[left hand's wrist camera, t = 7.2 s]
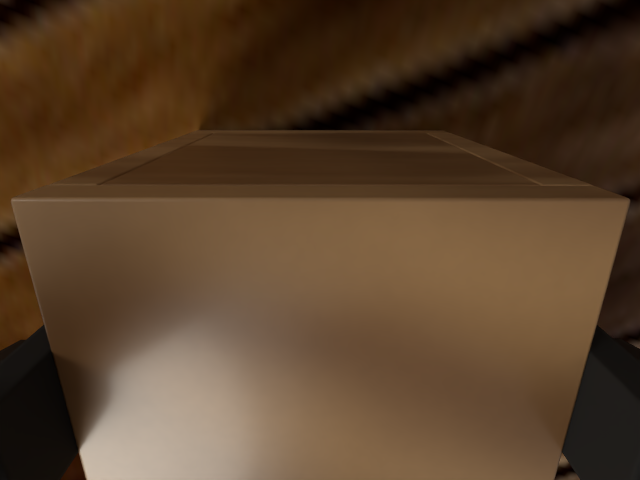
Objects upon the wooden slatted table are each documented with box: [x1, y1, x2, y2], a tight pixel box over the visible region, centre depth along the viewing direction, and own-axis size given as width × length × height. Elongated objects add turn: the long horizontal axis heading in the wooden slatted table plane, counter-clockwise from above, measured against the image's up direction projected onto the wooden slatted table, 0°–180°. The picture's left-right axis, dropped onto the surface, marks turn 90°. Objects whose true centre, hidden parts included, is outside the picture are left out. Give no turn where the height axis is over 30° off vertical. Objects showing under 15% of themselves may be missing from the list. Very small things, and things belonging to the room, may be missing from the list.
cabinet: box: [11, 130, 630, 480], centre depth 16 cm, size 19×11×12 cm, turn 0°
